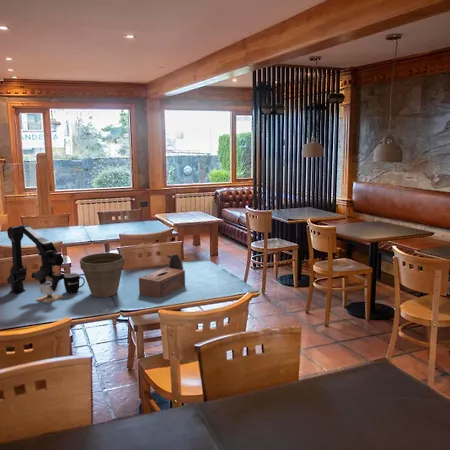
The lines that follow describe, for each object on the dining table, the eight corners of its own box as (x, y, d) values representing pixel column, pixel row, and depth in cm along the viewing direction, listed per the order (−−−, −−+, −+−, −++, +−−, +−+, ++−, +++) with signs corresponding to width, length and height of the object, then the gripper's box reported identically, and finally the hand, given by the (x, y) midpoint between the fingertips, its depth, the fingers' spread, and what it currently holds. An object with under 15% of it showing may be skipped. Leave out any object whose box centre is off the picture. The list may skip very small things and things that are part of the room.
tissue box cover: (166, 282, 304) (165, 267, 302) (185, 286, 297) (184, 270, 295) (139, 294, 282) (138, 277, 281) (159, 298, 275) (158, 281, 273)
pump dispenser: (168, 274, 322) (168, 252, 319) (184, 274, 321) (183, 252, 318) (166, 278, 311) (165, 255, 309) (182, 279, 311) (181, 256, 308)
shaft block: (36, 300, 272) (35, 290, 271) (48, 295, 281) (47, 285, 280) (50, 302, 269) (50, 292, 268) (62, 297, 278) (62, 287, 277)
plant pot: (85, 303, 267) (83, 265, 263) (78, 290, 289) (76, 255, 285) (130, 296, 278) (128, 260, 274) (120, 285, 299) (118, 250, 295)
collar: (40, 293, 272) (39, 284, 271) (48, 289, 278) (47, 281, 278) (49, 294, 270) (49, 286, 269) (57, 291, 276) (57, 282, 275)
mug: (65, 295, 281) (64, 278, 280) (63, 290, 289) (62, 274, 287) (86, 291, 287) (85, 275, 285) (83, 287, 295) (82, 271, 293)
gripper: (23, 265, 267) (25, 292, 270) (50, 268, 261) (52, 296, 263) (37, 260, 277) (39, 287, 280) (64, 263, 271) (66, 290, 274)
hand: (49, 290), depth 274 cm, fingers closed on collar, 7 cm apart
